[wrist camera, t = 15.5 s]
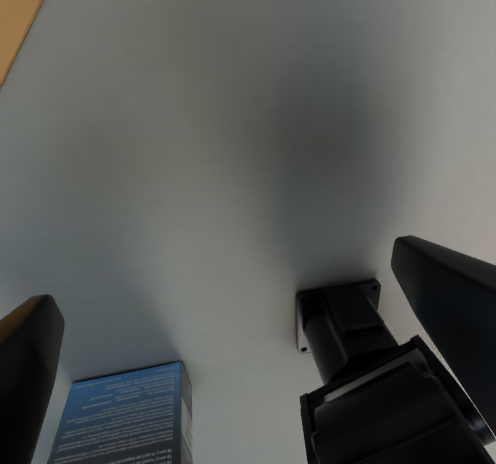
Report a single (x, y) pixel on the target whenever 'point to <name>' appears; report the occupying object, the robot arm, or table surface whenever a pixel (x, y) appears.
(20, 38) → the tan mat
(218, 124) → the table surface
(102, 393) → the blue printed box
